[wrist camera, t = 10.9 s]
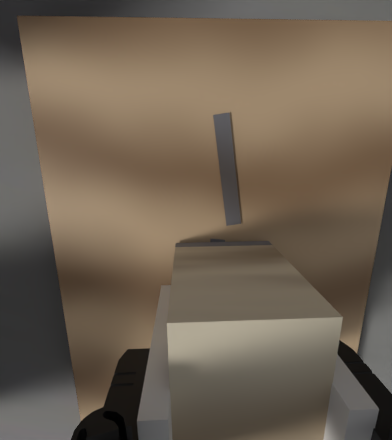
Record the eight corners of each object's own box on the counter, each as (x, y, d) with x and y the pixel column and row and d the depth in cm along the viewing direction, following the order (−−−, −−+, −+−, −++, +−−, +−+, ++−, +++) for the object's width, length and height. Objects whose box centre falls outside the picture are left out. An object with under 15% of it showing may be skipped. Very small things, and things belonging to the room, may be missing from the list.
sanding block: (175, 242, 12) (166, 323, 6) (268, 240, 12) (343, 317, 6) (179, 363, 14) (175, 514, 8) (260, 360, 14) (313, 505, 8)
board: (38, 33, 11) (15, 14, 10) (389, 37, 12) (420, 20, 10) (96, 440, 17) (87, 468, 16) (326, 428, 18) (339, 454, 16)
